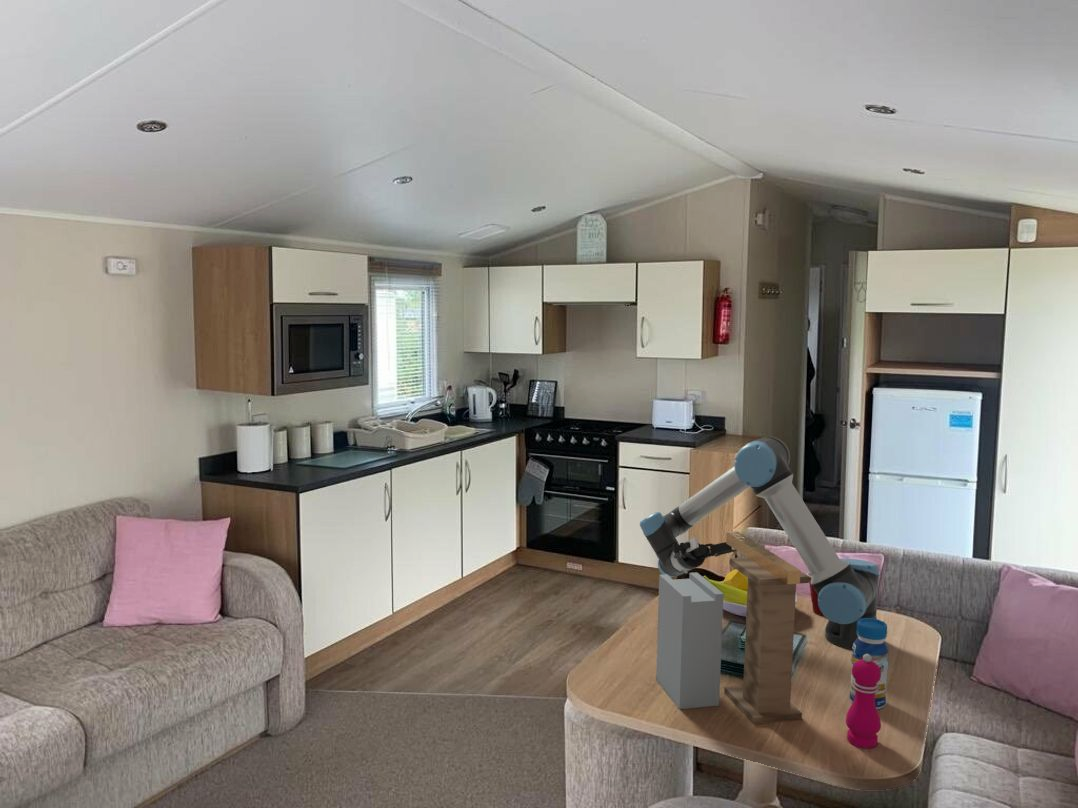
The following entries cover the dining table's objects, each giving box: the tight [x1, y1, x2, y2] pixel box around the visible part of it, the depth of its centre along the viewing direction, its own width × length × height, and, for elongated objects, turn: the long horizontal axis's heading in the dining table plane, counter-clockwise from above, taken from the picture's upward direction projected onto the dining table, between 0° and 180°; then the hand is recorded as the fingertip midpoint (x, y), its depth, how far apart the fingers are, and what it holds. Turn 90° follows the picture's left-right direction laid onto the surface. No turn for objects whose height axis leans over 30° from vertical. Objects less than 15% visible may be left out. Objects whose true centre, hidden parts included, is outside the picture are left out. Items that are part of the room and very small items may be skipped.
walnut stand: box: [723, 556, 809, 725], centre depth 205 cm, size 16×12×34 cm
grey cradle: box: [655, 571, 724, 710], centre depth 212 cm, size 16×10×28 cm, turn 12°
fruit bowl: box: [702, 568, 797, 618], centre depth 270 cm, size 28×27×11 cm
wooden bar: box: [725, 531, 802, 585], centre depth 207 cm, size 32×3×3 cm, turn 12°
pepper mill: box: [845, 654, 882, 749], centre depth 190 cm, size 7×7×20 cm
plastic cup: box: [806, 571, 823, 616], centre depth 269 cm, size 11×11×12 cm
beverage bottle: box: [849, 618, 890, 710], centre depth 208 cm, size 8×8×20 cm
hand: (720, 540), depth 232 cm, fingers open, 13 cm apart
